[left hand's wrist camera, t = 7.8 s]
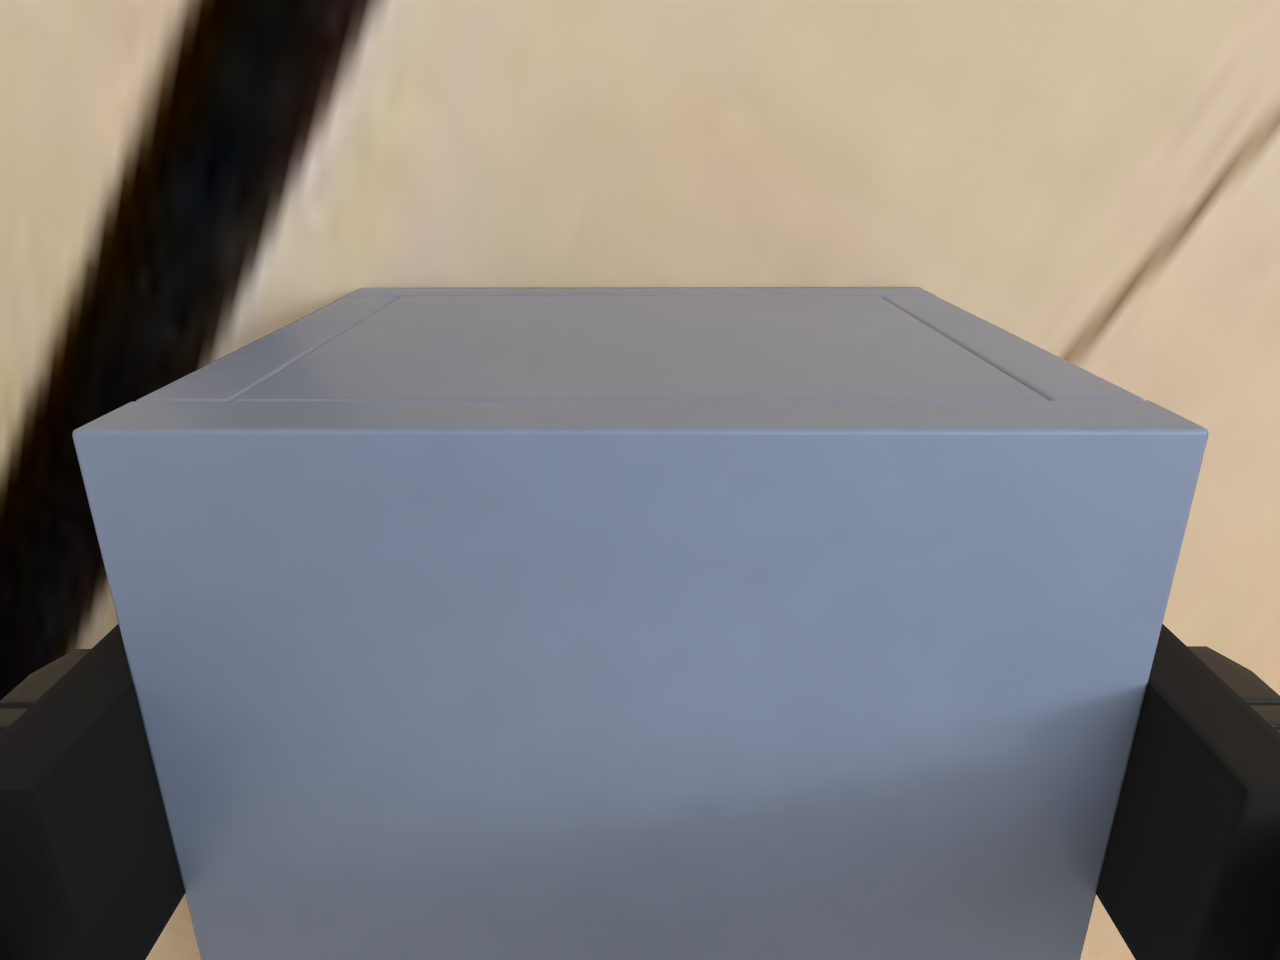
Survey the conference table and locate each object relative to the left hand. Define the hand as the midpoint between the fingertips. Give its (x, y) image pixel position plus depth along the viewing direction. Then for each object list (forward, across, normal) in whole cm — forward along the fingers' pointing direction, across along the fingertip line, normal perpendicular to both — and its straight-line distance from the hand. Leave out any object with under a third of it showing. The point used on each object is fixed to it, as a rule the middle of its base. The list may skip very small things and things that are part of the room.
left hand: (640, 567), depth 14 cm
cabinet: (+3, 0, -7) cm, 8 cm away
